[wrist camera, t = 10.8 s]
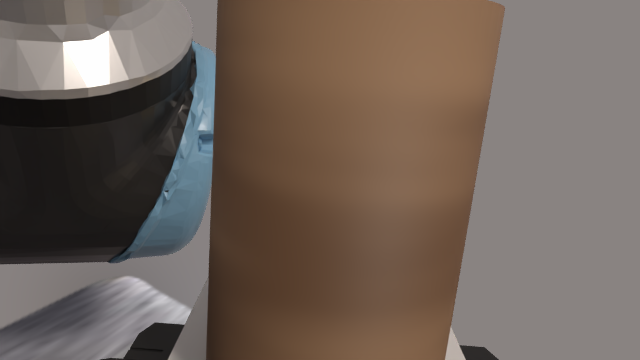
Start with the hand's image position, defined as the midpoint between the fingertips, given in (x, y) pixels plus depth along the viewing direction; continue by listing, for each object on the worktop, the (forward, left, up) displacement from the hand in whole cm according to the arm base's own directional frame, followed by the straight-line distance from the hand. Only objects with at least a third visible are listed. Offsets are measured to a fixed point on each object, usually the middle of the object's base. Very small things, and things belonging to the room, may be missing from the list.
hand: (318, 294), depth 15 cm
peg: (+5, -2, -10) cm, 11 cm away
